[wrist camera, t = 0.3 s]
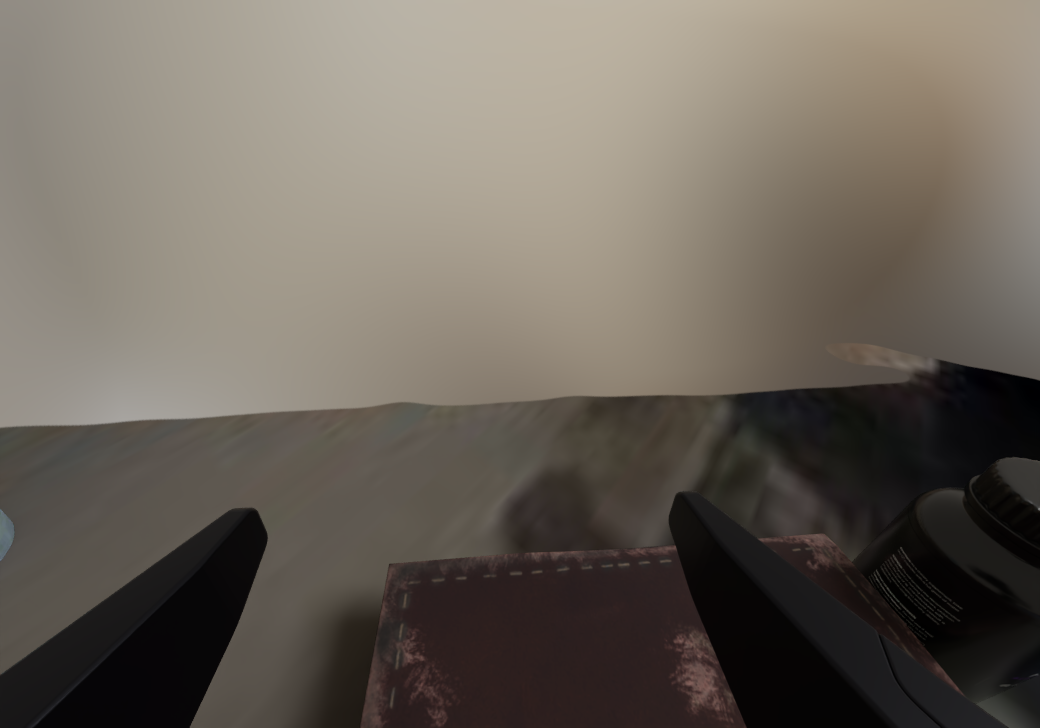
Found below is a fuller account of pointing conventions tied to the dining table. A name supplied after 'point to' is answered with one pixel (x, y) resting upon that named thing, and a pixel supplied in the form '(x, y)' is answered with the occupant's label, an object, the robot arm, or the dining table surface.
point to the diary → (575, 640)
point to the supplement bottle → (968, 576)
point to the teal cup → (5, 534)
